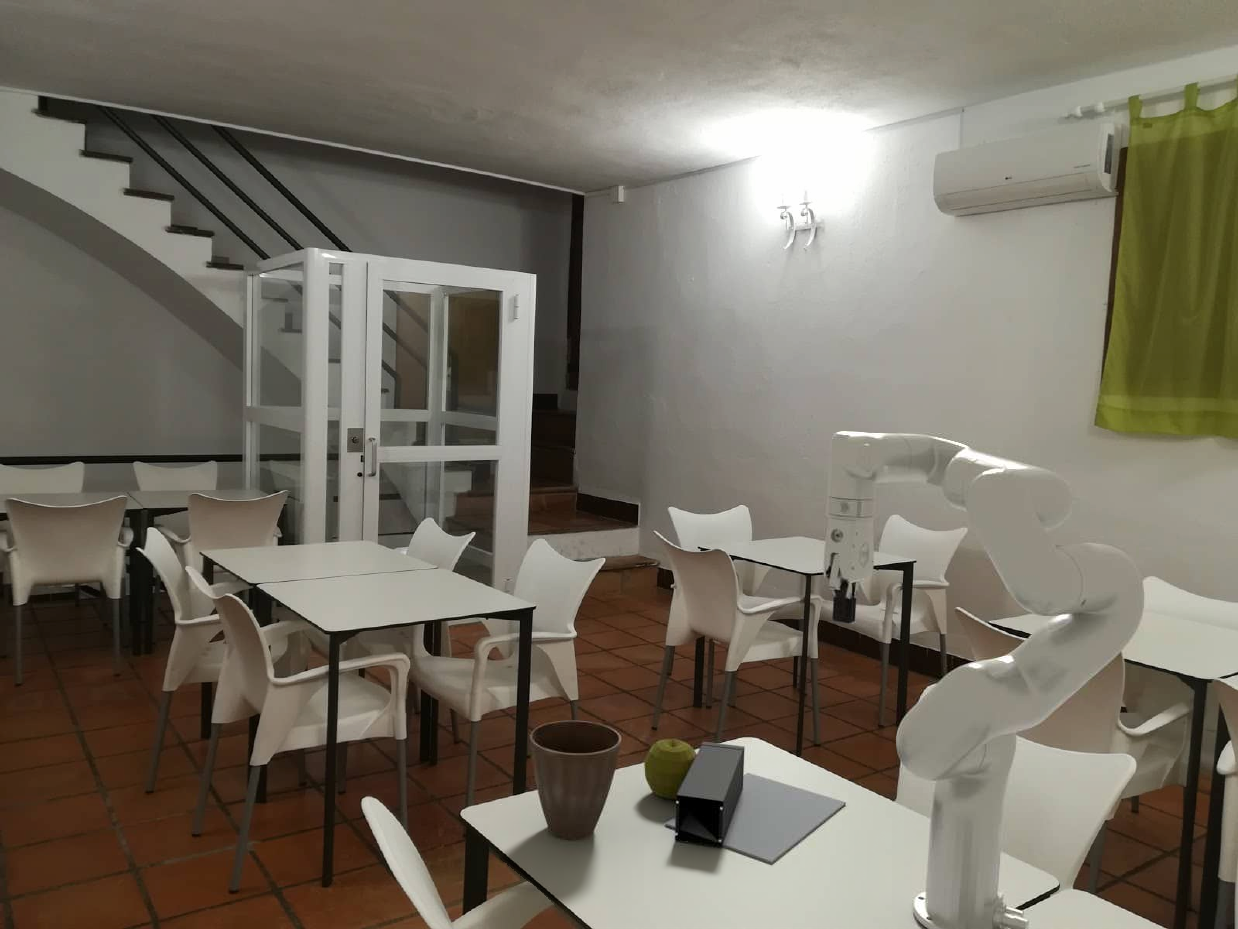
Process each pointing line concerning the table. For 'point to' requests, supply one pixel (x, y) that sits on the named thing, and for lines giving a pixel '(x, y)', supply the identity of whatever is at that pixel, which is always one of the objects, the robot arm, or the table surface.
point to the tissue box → (711, 791)
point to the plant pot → (573, 774)
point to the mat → (769, 818)
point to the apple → (668, 766)
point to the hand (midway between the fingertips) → (843, 621)
